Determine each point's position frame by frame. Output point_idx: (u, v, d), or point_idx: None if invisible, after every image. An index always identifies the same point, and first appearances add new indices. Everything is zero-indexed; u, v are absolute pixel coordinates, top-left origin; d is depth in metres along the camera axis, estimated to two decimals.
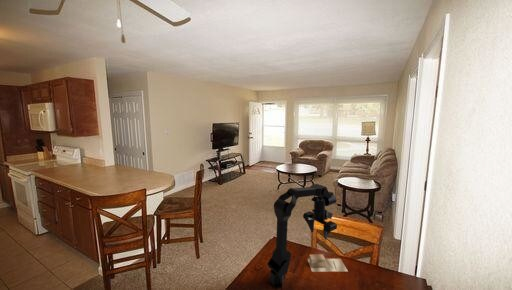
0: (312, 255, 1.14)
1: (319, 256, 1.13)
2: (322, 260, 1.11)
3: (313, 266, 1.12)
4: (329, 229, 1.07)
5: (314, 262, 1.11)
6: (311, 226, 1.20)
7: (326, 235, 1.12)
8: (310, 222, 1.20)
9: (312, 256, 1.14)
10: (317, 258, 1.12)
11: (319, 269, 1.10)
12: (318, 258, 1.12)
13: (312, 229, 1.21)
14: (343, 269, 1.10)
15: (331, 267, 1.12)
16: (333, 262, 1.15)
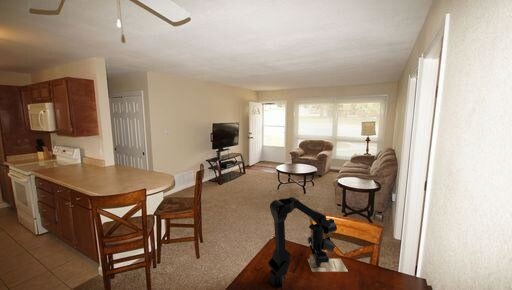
0: (312, 255, 1.14)
1: None
2: None
3: (313, 266, 1.12)
4: (316, 260, 1.04)
5: (314, 262, 1.11)
6: None
7: (317, 262, 1.10)
8: (313, 250, 1.16)
9: (312, 256, 1.14)
10: None
11: (319, 269, 1.10)
12: None
13: None
14: (343, 269, 1.10)
15: (331, 267, 1.12)
16: (333, 262, 1.15)
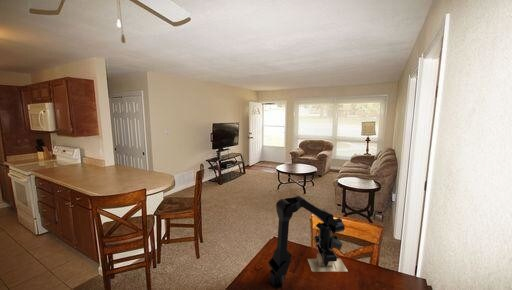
0: (319, 254, 1.14)
1: None
2: None
3: (320, 265, 1.12)
4: (324, 259, 1.04)
5: (322, 261, 1.11)
6: None
7: (325, 261, 1.10)
8: (320, 249, 1.16)
9: (319, 255, 1.14)
10: None
11: (319, 269, 1.10)
12: None
13: None
14: (343, 269, 1.10)
15: (331, 267, 1.12)
16: (333, 262, 1.15)
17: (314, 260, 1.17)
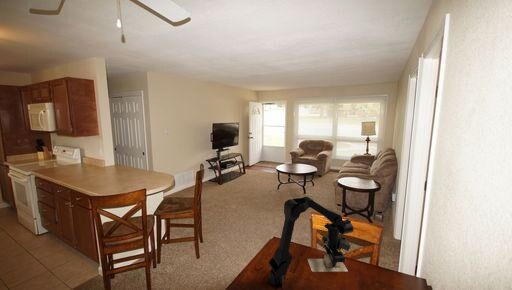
0: (327, 255, 1.14)
1: None
2: None
3: (328, 266, 1.11)
4: (333, 259, 1.04)
5: (329, 262, 1.11)
6: None
7: (333, 262, 1.10)
8: (328, 250, 1.15)
9: (327, 256, 1.13)
10: None
11: (319, 269, 1.10)
12: None
13: None
14: (343, 269, 1.10)
15: None
16: None
17: (314, 260, 1.17)
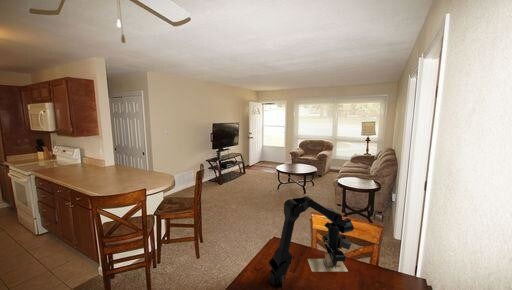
0: (327, 254, 1.14)
1: None
2: None
3: (329, 265, 1.12)
4: (334, 258, 1.04)
5: (330, 261, 1.11)
6: None
7: (333, 261, 1.10)
8: (329, 249, 1.16)
9: (328, 255, 1.14)
10: None
11: (319, 269, 1.10)
12: None
13: None
14: (343, 269, 1.10)
15: (331, 267, 1.12)
16: None
17: (314, 260, 1.17)
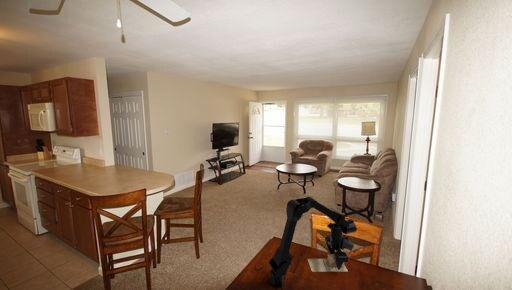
0: (330, 255, 1.14)
1: None
2: None
3: (332, 266, 1.11)
4: (336, 259, 1.04)
5: (333, 262, 1.11)
6: (331, 251, 1.18)
7: (338, 265, 1.08)
8: (330, 247, 1.18)
9: (330, 256, 1.14)
10: None
11: (319, 269, 1.10)
12: None
13: None
14: (343, 269, 1.10)
15: (331, 267, 1.12)
16: None
17: (314, 260, 1.17)
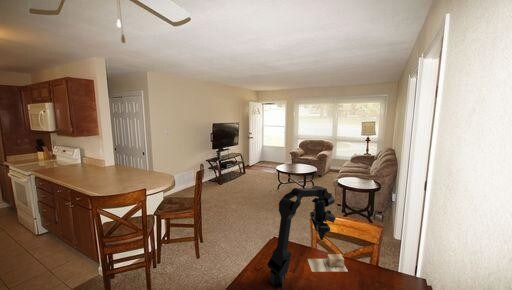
0: (330, 255, 1.14)
1: (337, 256, 1.13)
2: (341, 260, 1.11)
3: (332, 266, 1.11)
4: (318, 229, 1.12)
5: (333, 262, 1.11)
6: (315, 225, 1.26)
7: (320, 235, 1.16)
8: (314, 221, 1.26)
9: (330, 256, 1.14)
10: (335, 258, 1.12)
11: (319, 269, 1.10)
12: (337, 257, 1.12)
13: (316, 228, 1.26)
14: (343, 269, 1.10)
15: (331, 267, 1.12)
16: None
17: (314, 260, 1.17)
